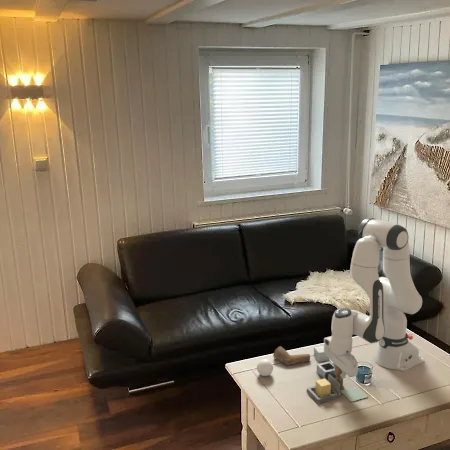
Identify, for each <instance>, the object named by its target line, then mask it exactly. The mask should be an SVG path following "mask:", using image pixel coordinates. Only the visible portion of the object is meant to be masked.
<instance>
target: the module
mask: <svg viewBox="0 0 450 450" xmlns="http://www.w3.org/2000/svg"><path fill="white" fill-rule="evenodd" d="M315 386H316V387H315V391H314V393H315V394H316V395H317V396H319V398H321V397H324V396H328V395H331V384H330V383H329V382H328V380H326V379H325V378H324V379H323V378H321V379H318V380H315Z"/></svg>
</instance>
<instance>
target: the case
mask: <svg viewBox="0 0 450 450" xmlns="http://www.w3.org/2000/svg"><path fill="white" fill-rule="evenodd" d="M327 381H328V382H329V383H330V384H331V392H330V395H328V396H324V397H321V398H319V397H318V395H317V394H316V393H315V387H316V385H313V386H309V387H307V388H306V392H307V393H308V395H311V396H310V397H311V398H312V399H313V400H314V401H315V402H316V403H317V404H322V403H326V402H329V401H333V400H337V399H339V398H341V392H340V391H341V387H340V386H341V384H340V383H339V382H338V381H337V380H336V378H333V377H332V376H331V375H330V374H329V375H328V380H327Z"/></svg>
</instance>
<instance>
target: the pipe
mask: <svg viewBox="0 0 450 450" xmlns="http://www.w3.org/2000/svg"><path fill="white" fill-rule="evenodd" d="M272 355H273V359H274V360H277V361H278V362H280V363H282V364H284V365H286V366H288V365H294V364H295V365H296V364H300V363H307V362H310V360H311V355H310V353H303V354H302V353H301V354H293V355H291V354H290V353H289V352H288V351H287V350H286V349H285V348H284V347H283V346H281V345H280V346H278V347H277V348H276V349H274V352H273V354H272Z"/></svg>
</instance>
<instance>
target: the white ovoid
mask: <svg viewBox="0 0 450 450" xmlns="http://www.w3.org/2000/svg"><path fill="white" fill-rule="evenodd" d="M252 371H253V372H254V371H255V369H254V370H252ZM256 371H257V372H258V374H259V375H260V376H263V377H268V376H271V374H272V373H273V371H274V365H273V363H272V361H271V360H270V359H267V358H264V359H261V360H260V361H258V362H257V364H256Z"/></svg>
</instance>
